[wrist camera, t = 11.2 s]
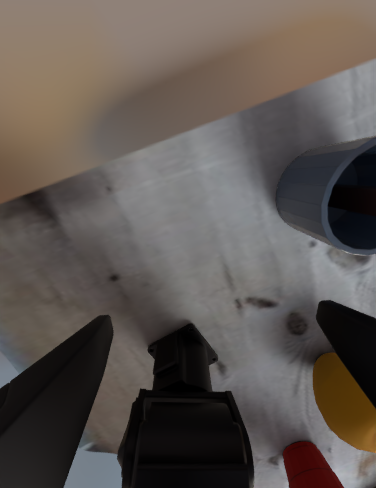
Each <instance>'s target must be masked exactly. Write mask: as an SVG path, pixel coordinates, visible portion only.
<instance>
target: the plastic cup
mask: <svg viewBox="0 0 376 488" xmlns="http://www.w3.org/2000/svg"><path fill="white" fill-rule="evenodd" d="M283 458H284V465H285V469H286V473H287V477H288V482H289V488H344V487H343V485H342V484H341V482H340V480H339V479H338V477H337V476H336V474H335V473H334V472H333V471H332V469H331V468H330V466H329V464H328V463H327V461H326V460H325V458H324V457H323V455H322V453H321V452H320V450H319V449H318V448H317V447H316V445H315V444H313V443H311V442H306V441H304V442H297V443H294V444H291V445H290V446H288V447H287V448H286V449H285V450H284V451H283Z"/></svg>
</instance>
